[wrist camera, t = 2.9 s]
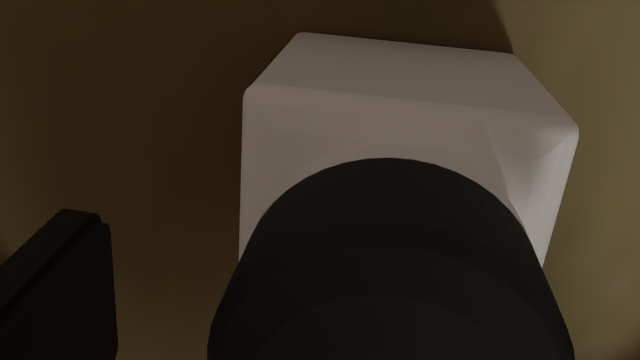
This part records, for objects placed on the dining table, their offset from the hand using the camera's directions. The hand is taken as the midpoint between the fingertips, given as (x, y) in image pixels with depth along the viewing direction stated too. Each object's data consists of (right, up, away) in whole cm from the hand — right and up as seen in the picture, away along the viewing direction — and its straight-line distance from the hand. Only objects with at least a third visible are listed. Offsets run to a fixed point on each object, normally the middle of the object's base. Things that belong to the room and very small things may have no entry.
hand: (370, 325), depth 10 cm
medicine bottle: (+2, +4, +10) cm, 11 cm away
